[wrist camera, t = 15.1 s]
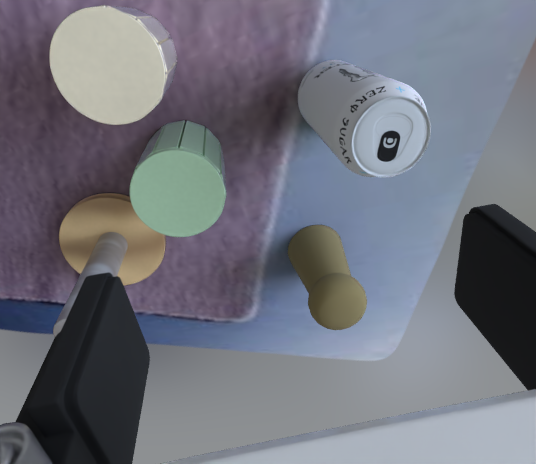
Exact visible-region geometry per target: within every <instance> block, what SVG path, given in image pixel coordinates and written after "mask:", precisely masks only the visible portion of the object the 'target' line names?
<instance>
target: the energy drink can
mask: <svg viewBox="0 0 536 464" xmlns="http://www.w3.org/2000/svg"><path fill="white" fill-rule="evenodd" d="M298 105H299V109H300V112H301V114H302V116H303V117H304V119H305V120H306V121H307V122H308V124H309V125H310V126H311V127H312V128H313V129H314V131H315V132H316V133H317V134H318V135H319V136H320V138H321V139H322V140H323V141H324V142H325V143H326V145H327V146H328V147H329V148H330V149H331V150H332V152H333V153H334V154H335V155H336V156H337V157H338V159H339V160H340V161H341V162H342V163H343V164H344V165H345V166H346V167H347V168H348V169H349V170H351V171H352V172H354V173H356V174H359V175H361V176H366V177H382V178H383V177H393V176H397V175H399V174H402V173H404V172H406V171H407V170H409V169H410V168H412V167H413V166H414V165H415V164H416V163H417V162H418V161H419V160H420V159H421V157H422V156H423V154H424V153H425V151H426V149H427V147H428V144H429V141H430V136H431V123H430V119H429V116H428V114H427V110H426V106H425V104H424V102H423V100H422V98H421V97H420V95H419V94H418V93H417V92H416V91H415V90H414V89H413V88H411V87H410V86H408V85H406V84H404V83H402V82H399V81H396V80H394V79H391V78H388V77H386V76H383V75H380V74H377V73H375V72H372V71H369V70H366V69H364V68H361V67H358V66H355V65H353V64H350V63H347V62H344V61H340V60H328V61H324V62H321V63H319V64H317V65H316V66H314V67H313V68H311V69H310V71H309V72H308V73H307V74H306V75H305V77H304V78H303V80H302V82H301V84H300V87H299V91H298Z"/></svg>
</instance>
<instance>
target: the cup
mask: <svg viewBox="0 0 536 464" xmlns="http://www.w3.org/2000/svg"><path fill="white" fill-rule="evenodd" d="M169 37H170V34H169V33H168V32H167V31H166V29H165V28H164V27H163V26H162V25H161V24H160V22H159V21H158V20H157V19H156V18H153V16H152V15H149V14H147V13H144V12H142V11H139V10H137V9H134V8H129V7H118V6H107V5H102V6H97V7H88V8H84V9H81V10H77V11H76V12H74V13H72V14H71V15H69V16H68V17H67V18H65V19H64V20H63V21H62V22H61V24H60V25H59V26H58V27H57V29H56V31H55V33H54V35H53V38H52V41H51V45H50V53H49V60H50V68H51V72H52V75H53V79H54V81H55V83H56V85H57V87H58V89H59V91H60V92H61V94H62V95H63V97H64V98H65V99H66V101H67V102H68V103H69V104H70V105H71V106H72V107H73V108H75V109H76V110H77V111H78V112H80V113H81V114H83V115H84V116H86V117H88V118H90V119H92V120H94V121H97V122H100V123H104V124H110V125H123V124H129V123H133V122H135V121H138V120H140V119H141V118H144V117H145V116H146V115H147V114H149V113H150V112H151V111H152V110H153V109H154V107H155V106H157V105H158V104H159V103H160V101H161V99H162V98H163V96H164V95H165V93H166V91H167V90H168V88H169V87H170V85H171V83H172V82H173V78H174V74H175V70H176V66H177V62H176V61H177V56H176V52H175V48H174V44H173V40H172V38H169Z"/></svg>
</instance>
